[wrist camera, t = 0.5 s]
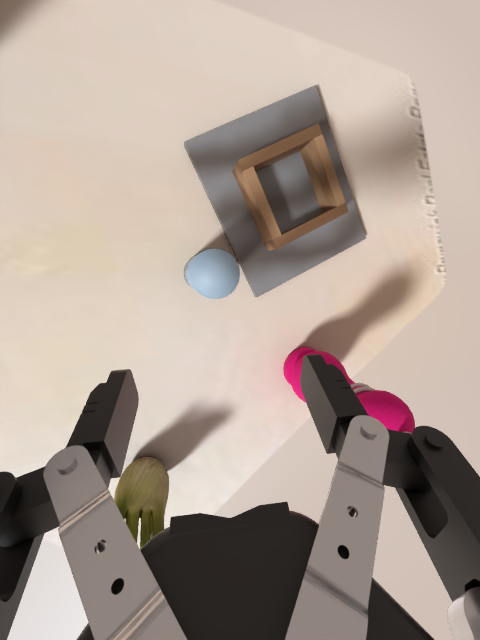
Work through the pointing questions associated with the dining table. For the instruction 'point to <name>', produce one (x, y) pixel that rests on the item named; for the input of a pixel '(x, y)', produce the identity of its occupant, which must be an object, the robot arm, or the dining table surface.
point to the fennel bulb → (143, 497)
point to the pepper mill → (374, 401)
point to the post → (212, 273)
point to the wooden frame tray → (278, 189)
